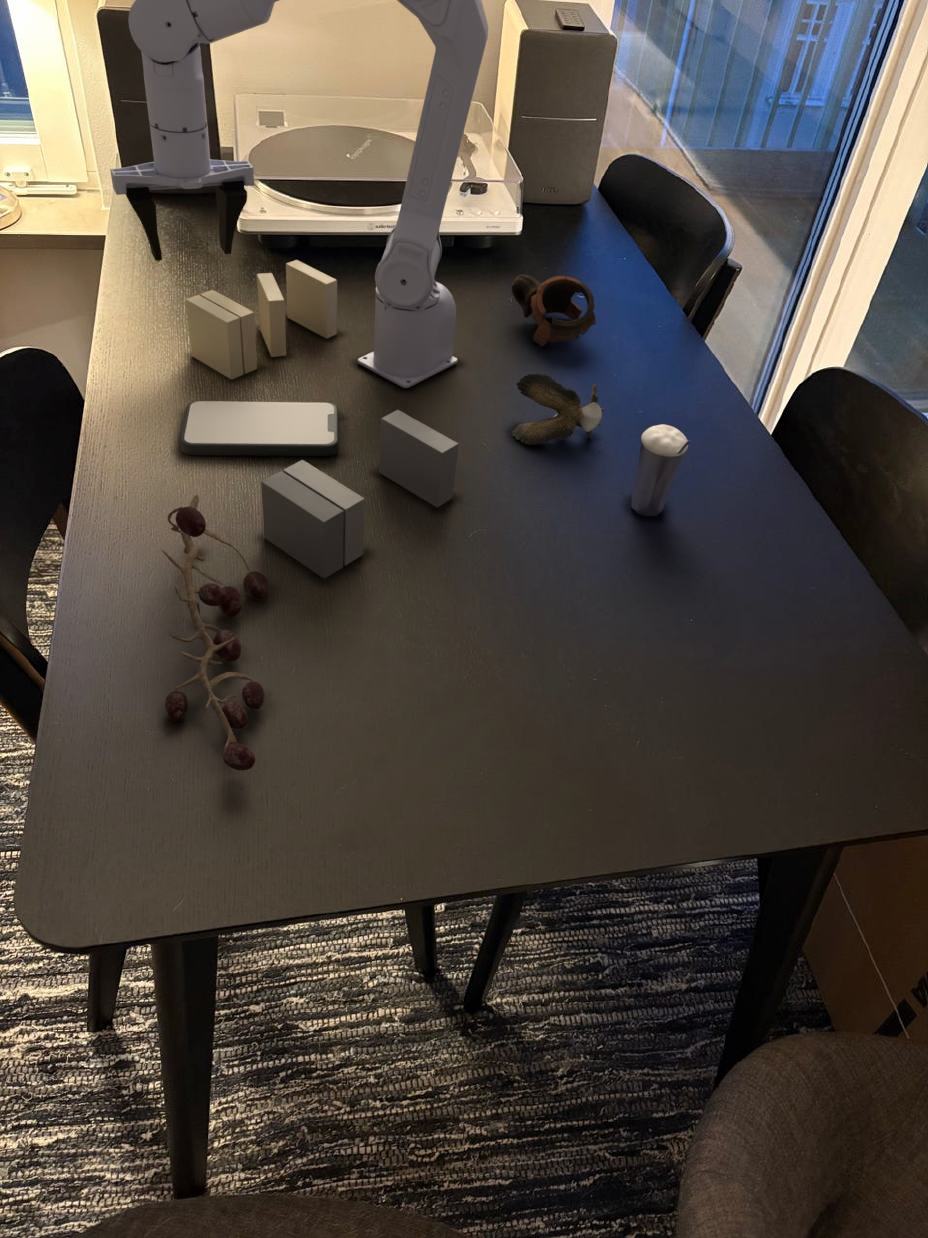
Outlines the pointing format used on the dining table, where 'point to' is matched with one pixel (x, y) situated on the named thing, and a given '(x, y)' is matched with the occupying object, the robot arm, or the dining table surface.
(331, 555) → the grey books
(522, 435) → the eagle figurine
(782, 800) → the dining table surface
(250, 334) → the cream books
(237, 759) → the decorative branch
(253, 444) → the grey smartphone
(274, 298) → the cream square block
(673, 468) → the milkshake
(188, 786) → the dining table surface
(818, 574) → the dining table surface
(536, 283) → the rusty ring housing
